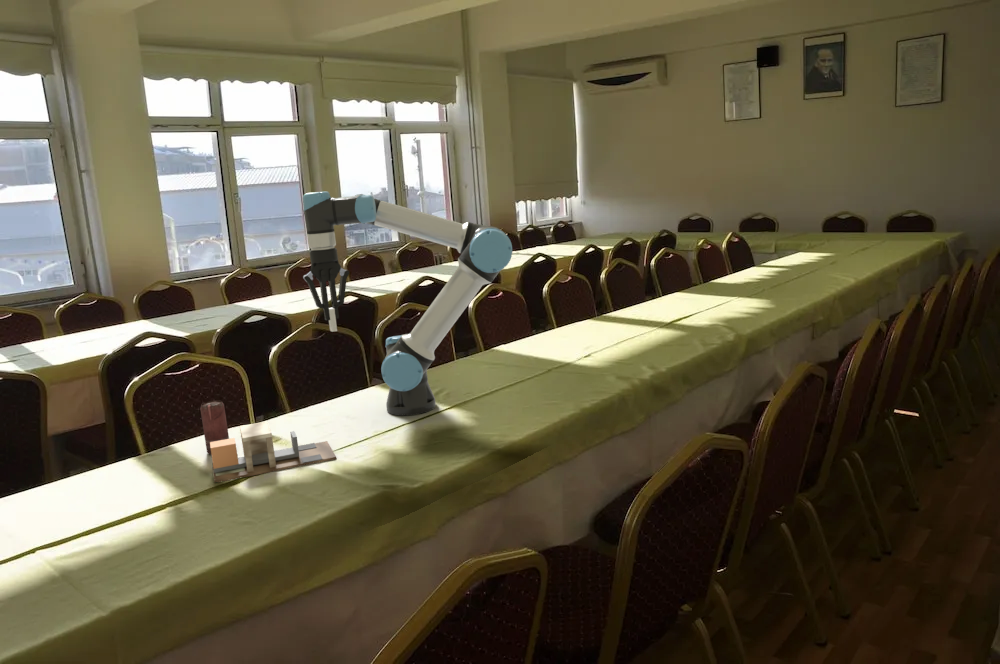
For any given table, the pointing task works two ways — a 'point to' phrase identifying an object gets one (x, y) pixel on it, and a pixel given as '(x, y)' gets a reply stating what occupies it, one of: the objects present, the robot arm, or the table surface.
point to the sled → (228, 459)
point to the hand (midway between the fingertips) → (333, 330)
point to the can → (214, 422)
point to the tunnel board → (272, 453)
